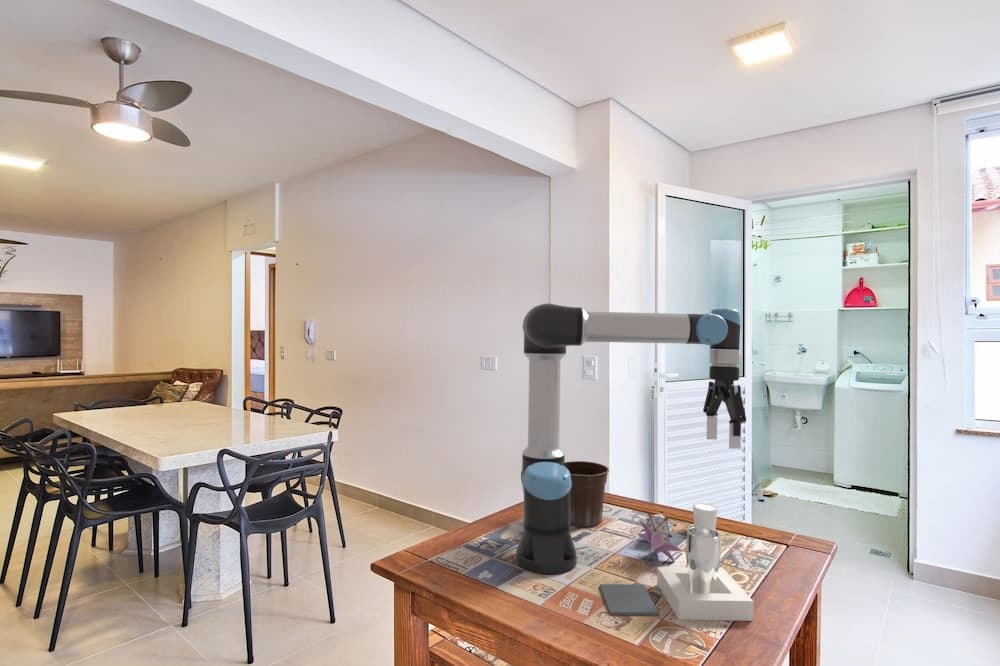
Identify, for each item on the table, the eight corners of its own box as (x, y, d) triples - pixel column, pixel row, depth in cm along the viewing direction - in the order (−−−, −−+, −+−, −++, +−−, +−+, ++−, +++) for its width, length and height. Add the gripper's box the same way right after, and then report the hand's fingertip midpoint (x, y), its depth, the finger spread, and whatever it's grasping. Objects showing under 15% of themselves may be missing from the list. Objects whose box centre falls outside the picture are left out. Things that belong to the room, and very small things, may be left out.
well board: (678, 619, 109) (679, 600, 109) (657, 584, 124) (657, 566, 124) (753, 620, 109) (753, 601, 109) (722, 585, 124) (723, 567, 124)
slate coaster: (610, 614, 111) (610, 611, 111) (599, 586, 123) (599, 583, 123) (659, 615, 111) (659, 612, 111) (643, 587, 123) (643, 584, 123)
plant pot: (571, 533, 154) (572, 477, 154) (544, 515, 169) (545, 463, 169) (619, 526, 160) (619, 471, 160) (589, 508, 175) (590, 459, 175)
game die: (665, 557, 147) (683, 536, 142) (636, 546, 148) (653, 524, 142) (664, 531, 155) (681, 510, 150) (636, 520, 155) (652, 498, 150)
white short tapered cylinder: (714, 537, 153) (715, 512, 153) (689, 531, 157) (690, 507, 156) (719, 529, 159) (719, 505, 159) (695, 524, 162) (695, 501, 162)
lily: (683, 578, 129) (692, 538, 133) (639, 560, 129) (649, 520, 132) (659, 572, 141) (668, 535, 144) (619, 555, 140) (629, 519, 143)
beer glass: (724, 601, 117) (725, 532, 117) (711, 613, 112) (713, 541, 112) (693, 590, 122) (694, 523, 121) (679, 601, 116) (680, 532, 116)
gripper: (762, 367, 136) (760, 453, 135) (717, 364, 160) (715, 436, 160) (732, 367, 135) (730, 452, 135) (692, 363, 160) (690, 435, 160)
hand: (722, 443), depth 147 cm, fingers open, 13 cm apart
